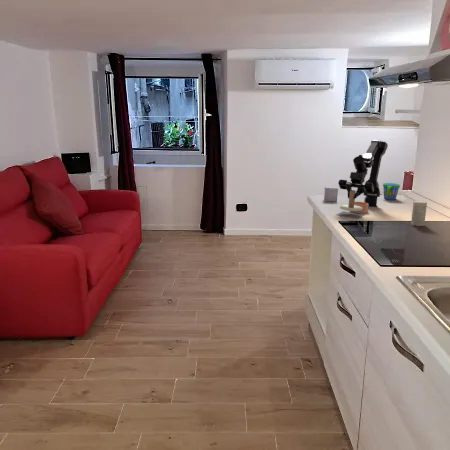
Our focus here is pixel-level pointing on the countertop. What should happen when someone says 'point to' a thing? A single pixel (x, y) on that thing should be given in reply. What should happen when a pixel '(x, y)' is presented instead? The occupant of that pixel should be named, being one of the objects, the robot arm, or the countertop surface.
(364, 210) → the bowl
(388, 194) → the snack cup
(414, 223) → the skincare box
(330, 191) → the medicine box
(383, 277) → the countertop surface
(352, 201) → the lid
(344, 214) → the mat
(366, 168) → the robot arm
